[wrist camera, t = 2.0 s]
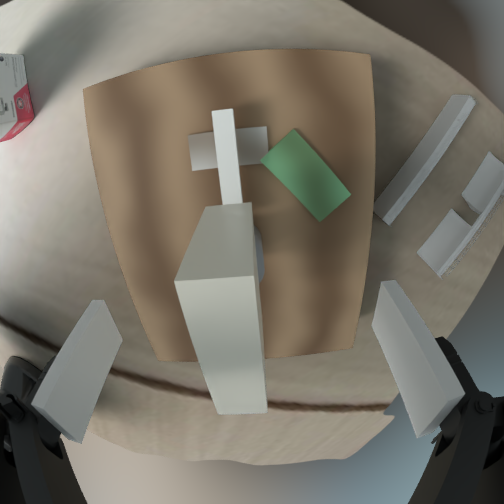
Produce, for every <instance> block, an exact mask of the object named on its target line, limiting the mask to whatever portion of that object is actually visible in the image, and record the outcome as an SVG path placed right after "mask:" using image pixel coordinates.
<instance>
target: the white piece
mask: <svg viewBox="0 0 504 504" xmlns="http://www.w3.org/2000/svg"><path fill="white" fill-rule="evenodd" d="M212 120H213V129H214V138H215V147H216V155H217V163H218V172H219V180H220V188H221V196H222V203H223V205H216V206H207V207H205V209H204V211H203V214H202V216H201V218H200V220H199V223H198V225H197V227H196V230H195V232H194V234H193V236H192V239H191V241H190V243H189V246H188V248H187V251H186V253H185V255H184V258H183V260H182V263H181V265H180V268H179V270H178V272H177V275H176V277H175V280H174V283H175V287H176V290H177V294H178V297H179V301H180V304H181V308H182V311H183V314H184V318H185V321H186V324H187V327H188V331H189V334H190V337H191V340H192V343H193V346H194V349H195V352H196V355H197V358H198V361H199V364H200V367H201V370H202V372H203V375H204V378H205V381H206V383H207V386H208V389H209V392H210V394H211V397H212V399H213V402H214V405H215V407H216V410H217V412H218V414H256V413H268V411H267V393H266V376H265V358H264V341H263V325H262V312H261V301H260V290H259V283H260V282H261V280H262V279H263V276H264V272H265V268H264V258H263V248H262V238H261V234H260V232H259V230H258V228H257V227H256V226H255V225H254V224H253V213H252V202H248V203H243V198H242V189H241V179H240V169H239V160H238V150H237V140H236V130H235V120H234V110H233V109H224V110H216V111H212Z"/></svg>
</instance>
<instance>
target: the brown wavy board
mask: <svg viewBox="0 0 504 504" xmlns="http://www.w3.org/2000/svg"><path fill="white" fill-rule="evenodd" d="M83 95H84V105H85V114H86V122H87V129H88V136H89V143H90V149H91V154H92V160H93V165H94V170H95V175H96V180H97V184H98V189H99V193H100V197H101V201H102V206H103V209H104V213H105V217H106V221H107V224H108V228H109V232H110V235H111V238H112V242H113V245H114V248H115V252H116V255H117V258H118V261H119V264H120V267H121V270H122V273H123V276H124V279H125V281H126V284H127V287H128V290H129V292H130V295H131V298H132V300H133V303H134V306H135V308H136V311H137V313H138V316H139V318H140V320H141V323H142V325H143V328H144V330H145V332H146V335H147V337H148V339H149V341H150V344H151V346H152V348H153V350H154V352H155V355H156V357H157V359H158V361H185V362H196V361H198V358H197V355H196V352H195V349H194V346H193V343H192V340H191V337H190V334H189V331H188V327H187V324H186V321H185V318H184V314H183V311H182V308H181V304H180V301H179V297H178V294H177V290H176V287H175V283H174V280H175V277H176V275H177V272H178V270H179V268H180V265H181V263H182V260H183V258H184V255H185V253H186V251H187V248H188V246H189V243H190V241H191V239H192V236H193V234H194V232H195V230H196V227H197V225H198V223H199V220H200V218H201V216H202V214H203V211H204V209H205V207H207V206H216V205H223V203H222V196H221V188H220V180H219V172H218V163H217V155H216V147H215V138H214V129H213V120H212V111H216V110H224V109H233V110H234V120H235V130H236V140H237V150H238V160H239V169H240V179H241V189H242V198H243V203H248V202H252V213H253V224H254V225H255V226H256V227H257V228H258V230H259V232H260V234H261V238H262V248H263V258H264V268H265V272H264V276H263V279H262V280H261V282H260V283H259V290H260V301H261V312H262V325H263V341H264V358H265V359H267V358H279V357H290V356H299V355H308V354H316V353H323V352H330V351H337V350H344V349H350V348H353V344H354V339H355V335H356V330H357V325H358V320H359V315H360V309H361V304H362V298H363V292H364V286H365V279H366V272H367V265H368V257H369V249H370V240H371V230H372V219H373V205H374V188H375V106H374V90H373V77H372V67H371V58H370V54H363V53H355V52H346V51H334V50H317V49H267V50H250V51H238V52H229V53H220V54H213V55H206V56H200V57H194V58H188V59H183V60H178V61H173V62H169V63H164V64H160V65H156V66H152V67H148V68H145V69H141V70H137V71H134V72H130V73H127V74H124V75H121V76H118V77H115V78H112V79H109V80H106V81H103V82H100V83H98V84H95V85H92V86H90V87H87V88H85V89H83Z"/></svg>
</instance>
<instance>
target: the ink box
mask: <svg viewBox="0 0 504 504" xmlns="http://www.w3.org/2000/svg"><path fill="white" fill-rule="evenodd" d="M33 119H34V113H33V108H32V104H31V99H30V94H29V89H28V84H27V78H26V72H25V65H24V57H23V55H18V54H2V53H0V142H2V141H6V140H10V139H12V138H13V137H15V136H16V135H17V134H18V133H20V132H21V131H22V130H23V129H24V128H25V127H26V126H27V125H28V124H29V123H30V122H31V121H32V120H33Z"/></svg>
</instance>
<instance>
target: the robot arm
mask: <svg viewBox="0 0 504 504" xmlns="http://www.w3.org/2000/svg"><path fill="white" fill-rule="evenodd" d="M372 328H373V330H374V333H375V335H376V337H377V339H378V341H379V344H380V346H381V348H382V350H383V353H384V355H385V357H386V360H387V362H388V364H389V367H390V369H391V372H392V374H393V376H394V379H395V381H396V384H397V386H398V389H399V391H400V394H401V396H402V399H403V401H404V404H405V407H406V409H407V412H408V415H409V417H410V420H411V423H412V426H413V429H414V432H415V434H416V437H417V438H419V437H421V436H424V435H427V434H430V433H432V432H434V431H435V429H436V428H437V427H438V426H439V425H440V428H441V430H442V431H441V432H440V433H439V434H438V435H437V436H436V437H435V438H434V439H433V441H432V442H431V443H432V444H433V443H435V442H436V441H437V442H436V444H435V447H434V450H433V452H432V455H431V457H430V459H429V462H428V464H427V467H426V469H425V471H424V473H423V475H422V477H421V479H420V482H419V483H418V486H417V487H416V489H415V491H414V493H413V495H412V497H411V499H410V501H409V503H408V504H504V397H496V398H493V397H492V396H491V395H490V394H488V393H486V392H482V391H479V390H478V388H477V387H476V385H475V383H474V382H473V379H472V377H471V376H470V374H469V372H468V370H467V369H466V367H465V366H464V364H463V362H461V359H460V357H459V355H457V352H456V350H455V349H454V347H453V346H452V344H451V343H450V342H449V341H447V340H446V339H445V338H444V337H443V336H442V337H438V338H434V337H433V335H432V334H431V332H430V331H429V329H428V327H427V326H426V324H425V323H424V321H423V320H422V318H421V316H420V315H419V313H418V312H417V310H416V309H415V307H414V306H413V304H412V303H411V301H410V300H409V298H408V297H407V296H406V294H405V293H404V291H403V290H402V288H401V287H400V286H399V284H398V283H397V281H396V280H389V281H382V282H381V285H380V290H379V295H378V300H377V304H376V309H375V313H374V318H373V322H372ZM122 341H123V339H122V337H121V335H120V333H119V331H118V329H117V327H116V325H115V323H114V321H113V318H112V316H111V314H110V312H109V310H108V307H107V305H106V303H105V301H104V300H92V301H91V303H90V304H89V306H88V307H87V309H86V310H85V312H84V313H83V315H82V316H81V318H80V319H79V321H78V322H77V324H76V325H75V327H74V329H73V330H72V332H71V333H70V335H69V337H68V338H67V340H66V341H65V343H64V345H63V346H62V348H61V350H60V351H59V353H58V355H57V356H54V357H53V358H52V359H51V360H50V361H49V362H48V363H47V365H46V366H45V368H44V370H43V373H42V372H41V371H39V370H38V369H37V368H35V367H34V366H33V365H31V364H30V363H28V362H26V361H24V360H22V359H20V358H18V357H10V358H9V359H8V361H7V363H6V364H5V367H4V372H3V376H2V381H1V387H0V504H87V502H86V500H85V497H84V495H83V493H82V491H81V489H80V486H79V484H78V482H77V479H76V477H75V474H74V472H73V469H72V467H71V464H70V461H69V458H68V455H67V453H66V449H65V446H64V443H63V441H62V439H61V438H60V434H61V433H62V434H63V435H64V436H65V437H66V438H68V439H69V440H72V441H75V442H78V443H81V444H82V441H83V438H84V434H85V432H86V429H87V426H88V424H89V421H90V418H91V415H92V413H93V410H94V407H95V405H96V402H97V400H98V397H99V395H100V392H101V390H102V387H103V385H104V382H105V380H106V378H107V375H108V373H109V370H110V368H111V366H112V363H113V361H114V359H115V357H116V354H117V352H118V350H119V348H120V345H121V343H122Z"/></svg>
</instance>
